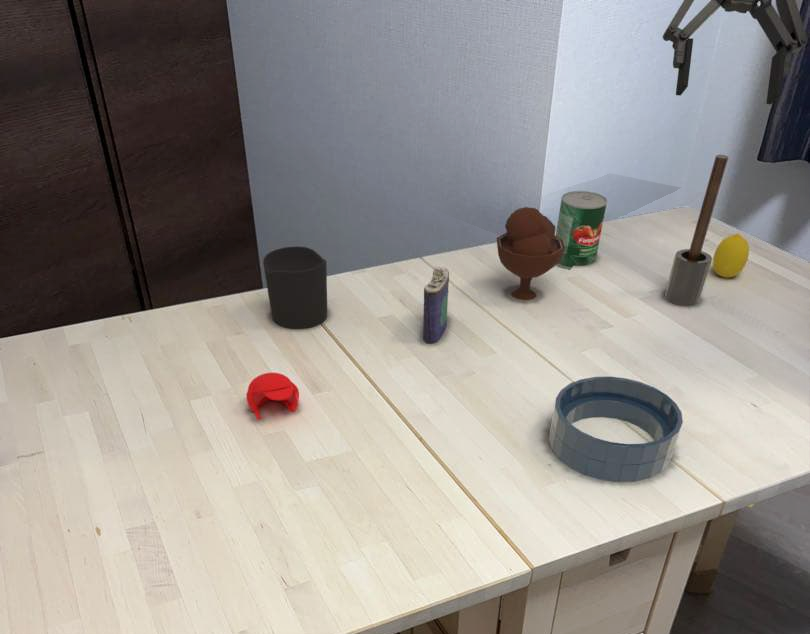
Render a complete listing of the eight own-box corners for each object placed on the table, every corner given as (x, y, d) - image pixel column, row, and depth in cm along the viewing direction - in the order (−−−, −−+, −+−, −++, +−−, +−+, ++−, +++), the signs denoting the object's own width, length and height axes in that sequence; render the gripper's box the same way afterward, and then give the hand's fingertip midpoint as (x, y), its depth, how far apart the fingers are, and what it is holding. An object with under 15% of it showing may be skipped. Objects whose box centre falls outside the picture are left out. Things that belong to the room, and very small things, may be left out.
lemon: (739, 288, 129) (755, 242, 124) (706, 283, 130) (720, 237, 125) (740, 275, 133) (755, 230, 127) (708, 270, 134) (721, 225, 129)
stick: (688, 297, 124) (729, 155, 109) (686, 301, 123) (727, 159, 108) (677, 295, 125) (717, 153, 110) (675, 299, 124) (714, 157, 109)
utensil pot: (700, 299, 126) (714, 253, 120) (694, 313, 122) (708, 265, 116) (667, 292, 127) (679, 246, 122) (660, 306, 124) (672, 259, 118)
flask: (432, 319, 119) (435, 253, 112) (450, 322, 119) (455, 256, 111) (420, 347, 113) (422, 279, 105) (439, 350, 112) (442, 282, 105)
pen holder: (336, 310, 121) (332, 249, 114) (321, 337, 114) (316, 275, 108) (280, 304, 122) (273, 244, 115) (262, 332, 116) (254, 269, 109)
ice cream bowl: (549, 318, 120) (563, 224, 110) (482, 306, 123) (490, 213, 112) (562, 291, 127) (577, 200, 117) (499, 280, 130) (508, 191, 120)
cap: (238, 411, 100) (231, 372, 96) (273, 394, 103) (268, 355, 99) (275, 436, 96) (270, 396, 92) (310, 417, 99) (307, 378, 95)
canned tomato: (584, 273, 133) (596, 210, 125) (544, 263, 136) (553, 200, 128) (602, 258, 137) (614, 196, 130) (562, 248, 140) (572, 187, 133)
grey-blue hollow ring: (680, 434, 97) (693, 394, 93) (654, 501, 87) (667, 460, 83) (568, 404, 102) (576, 365, 98) (532, 465, 92) (538, 424, 88)
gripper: (817, -35, 110) (797, 115, 113) (651, -52, 110) (634, 99, 112) (848, -71, 103) (826, 90, 105) (670, -89, 102) (652, 73, 105)
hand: (727, 95), depth 109 cm, fingers open, 13 cm apart
